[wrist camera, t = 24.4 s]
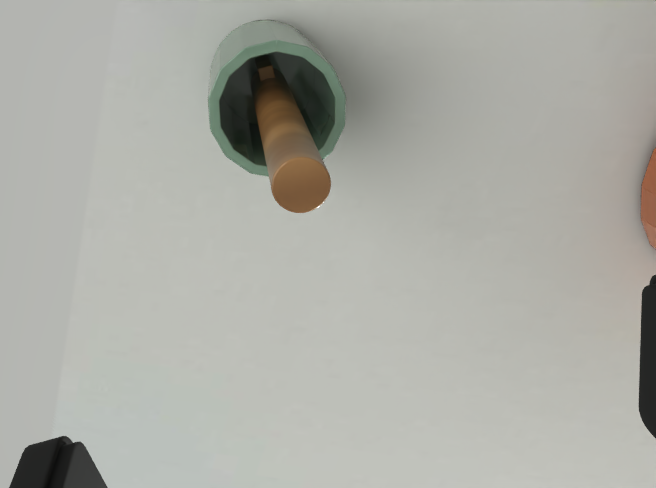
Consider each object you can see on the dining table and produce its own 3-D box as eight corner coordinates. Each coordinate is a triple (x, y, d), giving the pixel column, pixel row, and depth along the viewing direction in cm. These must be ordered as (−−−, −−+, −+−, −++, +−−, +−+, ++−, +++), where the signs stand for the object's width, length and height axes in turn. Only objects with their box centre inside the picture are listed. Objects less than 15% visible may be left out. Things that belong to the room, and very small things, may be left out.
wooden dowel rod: (243, 60, 34) (260, 148, 20) (278, 52, 34) (320, 133, 20) (258, 116, 36) (284, 235, 21) (292, 108, 36) (340, 220, 22)
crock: (195, 35, 34) (188, 61, 27) (308, 7, 34) (331, 25, 27) (227, 142, 37) (229, 191, 30) (331, 116, 37) (358, 158, 30)
